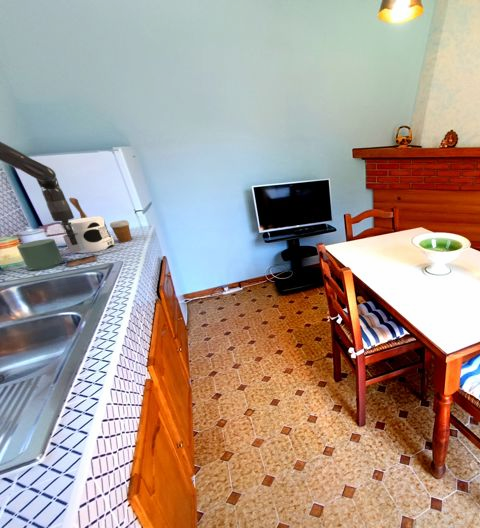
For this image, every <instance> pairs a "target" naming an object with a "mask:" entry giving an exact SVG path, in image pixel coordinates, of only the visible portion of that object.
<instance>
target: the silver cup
mask: <svg viewBox="0 0 480 528" xmlns="http://www.w3.org/2000/svg"><path fill="white" fill-rule="evenodd" d="M72 234H73V233H72ZM74 234H75V238H76V240H77V243H78V244H77V245H72V244H71V241H70V239H69V237H68V235H67V234H64V235H63V236H62V238H63V241H64V242H65V244H66V247H67V249H68V251H69V253H78V252H77V251H82V250H84V249H85V247H84V244H83V242H82V240H81V237H80V235H79V233H74ZM69 235H70V234H69Z"/></svg>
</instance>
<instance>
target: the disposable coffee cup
mask: <svg viewBox="0 0 480 528" xmlns="http://www.w3.org/2000/svg"><path fill="white" fill-rule="evenodd" d="M109 227H110V228H111V229H112V232H113V233H114V235H115V237H116V239H117V240H118V242H119V243H120V244H121V243H128V242H131V241H132V240H133V239H132V235H131V234H132V233H131V229H130V222H129V221H128V220H126V219H125V220H124V219H123V220H117V221H113V222H110V223H109Z"/></svg>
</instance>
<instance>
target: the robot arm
mask: <svg viewBox="0 0 480 528" xmlns="http://www.w3.org/2000/svg"><path fill="white" fill-rule="evenodd" d="M0 161H1V162H2V163H4V164H6V165H8V166H10V167H13V168H15V169H17V170H19V171H21V172H23V173H25V174H27V175H29V176H30V177H32V178H34V179H35V180H36V181H37V184H38V186H39V188H40V190H41V193H42V196H43V199H44V201H45V203H46V207H47V209H48V211H49V214H50V216H51V218H52V220H53V222H61V223H60V227H61V229H63V231H64V233H65V235H68V237H69V239H70V241H71V244H72V245H77V244H78V243H77V240H76V238H75V234H74V229H73V225H72V223H71V222H70V223H69V222H68V221H71V220H74V219H75V215H74V214H73V211H72V207H71V206H70V204H69V202H68V200H67V199H66V196H65V193H64V191H63V190H62V188H61V187H60V183H59V180H58V178H57V174H56V172H55V171H54V169H53V168H51V167H50V166H47V165H45V164H43V163H41V162H39V161H37V160H35V159H33V158H31V157H30V156H28V155H27V154H25V153H23V152H22V151H20V150H17V149H16V148H14V147H12V146H10V145H8V144H6V143H4V142H3V141H0ZM72 233H73V234H72ZM69 234H70V235H69Z"/></svg>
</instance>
